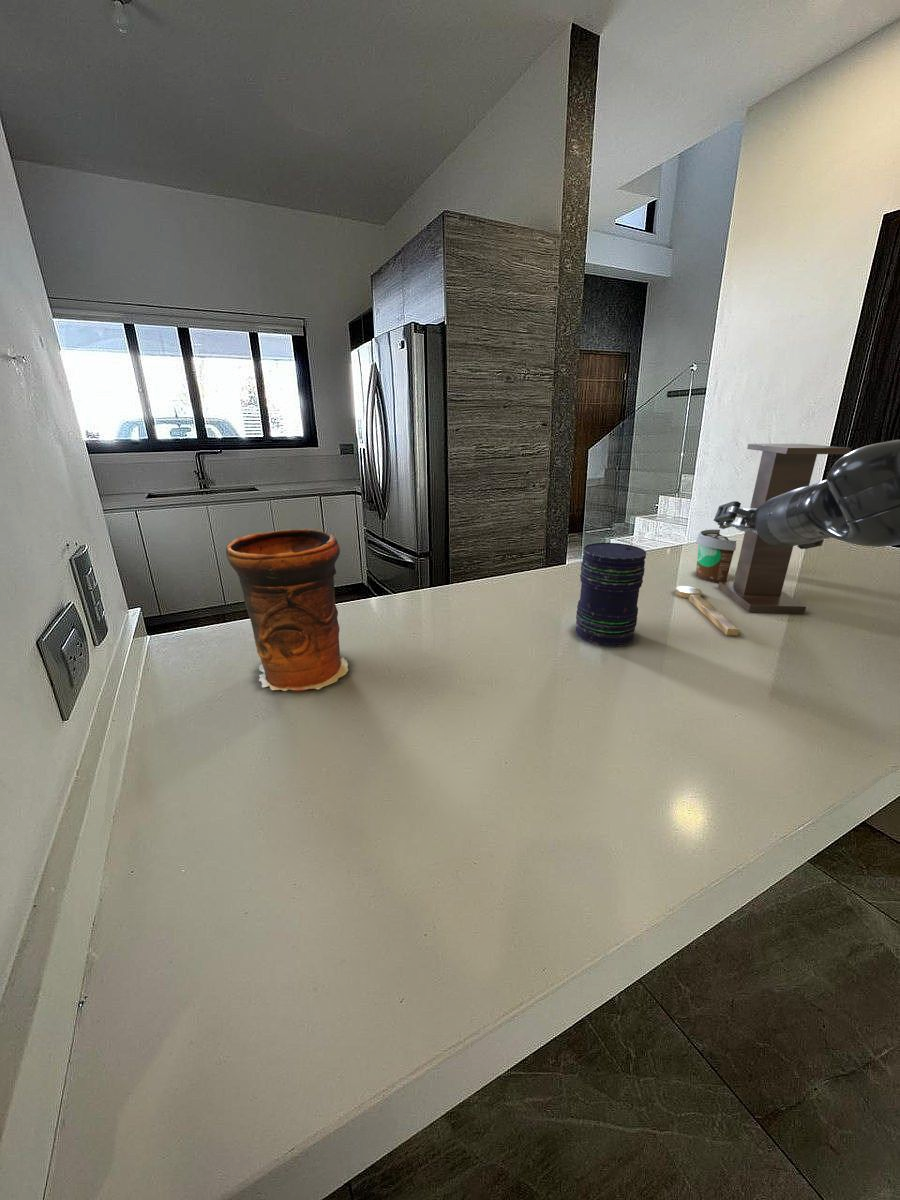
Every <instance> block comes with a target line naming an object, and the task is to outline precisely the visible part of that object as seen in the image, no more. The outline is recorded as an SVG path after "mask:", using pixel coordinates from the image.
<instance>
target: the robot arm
mask: <svg viewBox="0 0 900 1200" xmlns="http://www.w3.org/2000/svg"><path fill="white" fill-rule="evenodd" d="M741 505H742V503H741V502H740V501H738V500H735V501H733V500H732V501H730V502H727V503H725V504H724V503H723V504H722V505H719V506H718V508H717V510H716V513H715V516H714V518H713V521H714V522H715V523H717V525H718V528H719V529H722V530H726V529H729V528H735V529H737V530H738V531H740V532H745V531H747V532H754V533H755V534H758V535H759V536H760V538H761V539H762V540H763V541H765V542H766V543H768V544H770V545H772V546H776V547H790V546H793V547H795V546H797V548H798V549H800V550H807V549H812V548H817V547H822V545H823V543H824V541H825V540H826V539H835V540H837V541H841V542H845V543H848V544H852V545H855V546H856V545H857V546H862V547H869V548H878V547H879V548H881V547H883V548H884V547H891V546H898V545H900V439H893V440H887V441H880V442H877V443H871V444H868V445H864V446H862V447H859V448H856V449H854V450H851V451H850V452H849V453H848V454H843V456H841V457H840V458H839V459H838V460H836V461H835V462H834V464H833V465H832V467H831V468H830V469H829V471H828V473H827V477H826V479H824V480H821V481H818V482H816V483H813V484H811V485H810V484H809V486H806V487H801V488H797V489H794V490H792V491H789V492H787V493H784V494H781V495H779V496H776V497H774V498H771V499H769V500H768V501H766V502H765V503H764V504H762V505H761V506H760V507H759V508H758V509H754V508H750V507H743V508H741ZM736 518H737V519H736ZM747 524H748V525H749V526H746V525H747Z"/></svg>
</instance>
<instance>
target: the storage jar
mask: <svg viewBox="0 0 900 1200" xmlns="http://www.w3.org/2000/svg"><path fill="white" fill-rule="evenodd" d="M582 554H583V555H582V559H581V560H582V561H581V562H580V563H581V564H580V565H581V566H580V575H579V577H580V579H579V581H580V582H581V583H580V584H581V586H580V594H579V600H578V601H577V606H576V608H577V609H576V613H575V619H576V621H575V623H576V626H575V630H574V631H575V635H576V636H577V638H579V640H582V641H584V642H586V643H589V644H591V645H595V646H600V647H611V648H614V647H615V648H616V647H624V646H627V645H630V644H631V643H632V642H633V641H634V638H635V633H634V632H635V631H636V626H637V623H638V613H639V607H638V601H639V595H640V589H641V587H642V585H643V582H644V580H643V578H644V576H645V565H646V558H647V551H646V550H645V549H643V548H641V547H639V546H636V545H632V544H626V543H619V542H596V543H595V542H594V543H589V544H586V545H585V546H584V547H583V551H582Z"/></svg>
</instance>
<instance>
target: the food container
mask: <svg viewBox="0 0 900 1200" xmlns="http://www.w3.org/2000/svg"><path fill="white" fill-rule="evenodd" d="M720 533H721V529H704V530H701V531H700V533H699V534H698V535H697V537H696V539H695V542H696V543H697V544H698V548H697V558H696V568H695V576H696V577H697V578H698V579H701V580H703V581H707V582H711V583H716V584H719V582H727V581H728V576H729V573H730V568H731V564H732V562H733V561H732V560H733V556H734V552H736V549H737V540H731V539H729V538H728V537H727V536H725V535H722V534H720Z"/></svg>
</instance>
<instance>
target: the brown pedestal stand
mask: <svg viewBox="0 0 900 1200" xmlns="http://www.w3.org/2000/svg"><path fill="white" fill-rule="evenodd" d="M746 449H747V450H752V451H760V452H762V453H761V457H760V460H759V466H758V471H757V475H756V480H755V485H754V489H753V493H752V497H751V502H750V507H749V508H754V509H758V508H759V507H760V506H761V505H762V504H764V503H765V502H766V501H768V500H769V499H771V498H774V497H776V496H779V495H781V494H784V493H787V492H789V491H792V490H794V489H797V488H801V487H806V486H810V484H811V479H812V475H813V473H814V468H815V466H816V465H815V464H816V461H817V457H818V455H846V454H848V453H849V452H852V448H851V447H843V446H831V445H821V444H811V443H810V444H809V443H747V447H746ZM745 526H749V525H748V524H747V523H746V525H745ZM793 549H794V546H790V547H776V546H772V545H770V544H768V543H766V542H765V541H763V540H762V539H761V538H760V536H759V535H758V534H755V533H754V532H747V531H744V535H743V538H742V544H741V548H740V552H739V557H738V561H737V566H736V571H735V575H734V578H733V581H726V582H719V583H718V588H717V589H719V590H720V591H721V592H723V593H724V594H725V595H726V596H728V597H729V598H730V599H731V600H732V601H734V602H735V603H737V605H739V606H740V607H742V608H743V609H744V610H746V611H747V612H748V613H761V614H762V613H763V614H797V615H805V614H806V609H807V606H806V605H804V604H803V603H801V602H799V601H798V600H797V599H795V598H793V597H791V596H790V595H788V594H787V593H786V592H783V587H784V584H785V580H786V576H787V573H788V569H789V565H790V560H791V557H792V554H793Z"/></svg>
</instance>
